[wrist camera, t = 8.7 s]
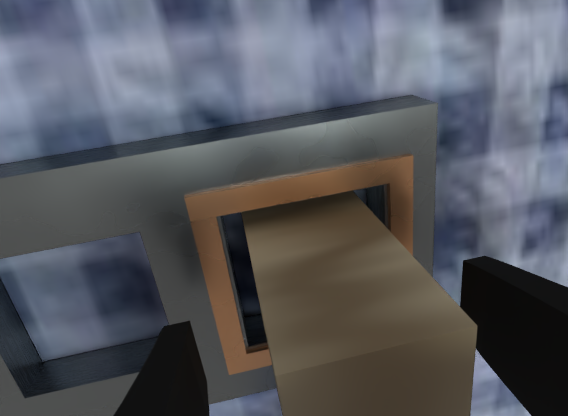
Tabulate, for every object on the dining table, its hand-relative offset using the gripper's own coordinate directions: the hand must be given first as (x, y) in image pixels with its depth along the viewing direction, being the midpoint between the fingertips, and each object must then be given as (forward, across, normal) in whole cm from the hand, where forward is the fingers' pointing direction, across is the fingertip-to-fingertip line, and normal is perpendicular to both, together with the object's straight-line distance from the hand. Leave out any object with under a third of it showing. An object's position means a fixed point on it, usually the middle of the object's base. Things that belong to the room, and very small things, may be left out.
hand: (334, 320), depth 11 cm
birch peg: (+4, 0, 0) cm, 4 cm away
